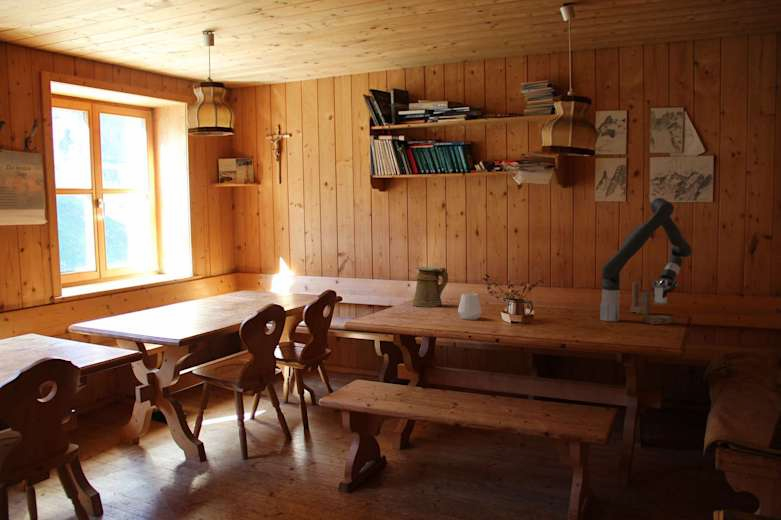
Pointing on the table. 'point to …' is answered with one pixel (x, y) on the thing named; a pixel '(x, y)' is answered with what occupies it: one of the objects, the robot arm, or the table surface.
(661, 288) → the housing
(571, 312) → the table surface
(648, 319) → the stand
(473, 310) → the cup
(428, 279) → the tankard
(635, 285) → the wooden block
